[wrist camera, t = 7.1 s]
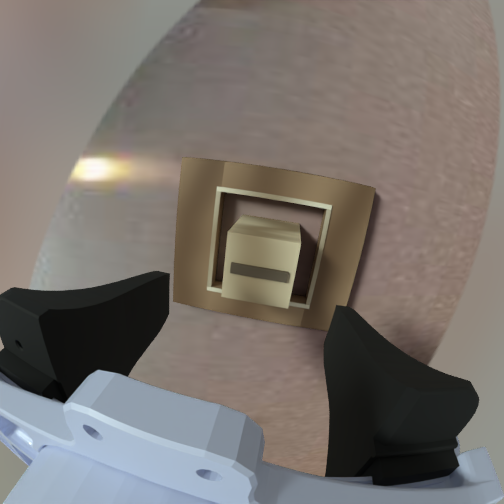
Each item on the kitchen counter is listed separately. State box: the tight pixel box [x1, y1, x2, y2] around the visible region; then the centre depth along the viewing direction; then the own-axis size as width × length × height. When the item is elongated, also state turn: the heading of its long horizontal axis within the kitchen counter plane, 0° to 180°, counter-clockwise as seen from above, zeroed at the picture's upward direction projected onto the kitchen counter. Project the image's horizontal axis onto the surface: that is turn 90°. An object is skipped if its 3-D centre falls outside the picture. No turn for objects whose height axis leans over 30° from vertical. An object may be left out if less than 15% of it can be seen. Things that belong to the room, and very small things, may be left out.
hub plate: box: [173, 157, 376, 331], centre depth 20 cm, size 13×11×1 cm
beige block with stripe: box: [221, 215, 301, 309], centre depth 18 cm, size 4×4×5 cm
